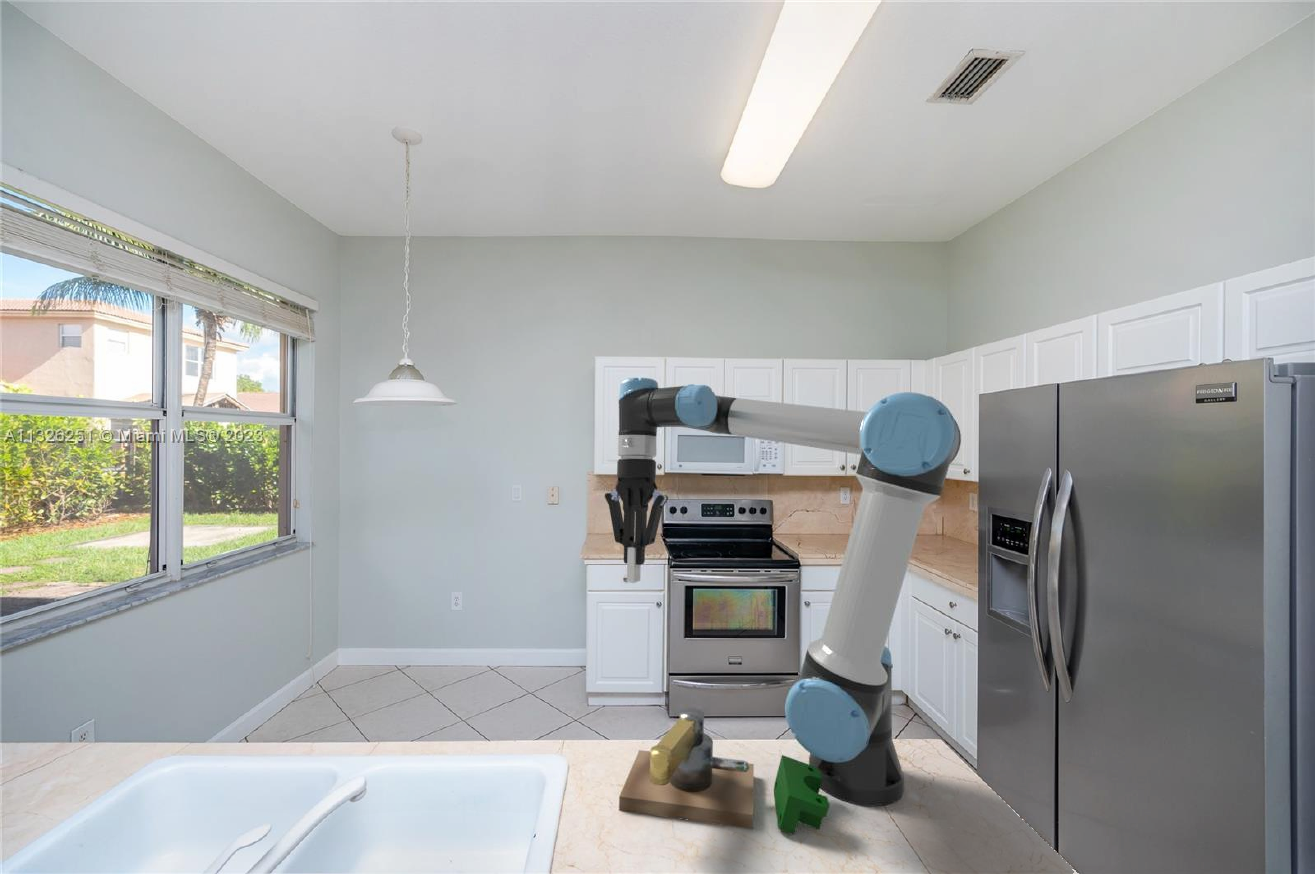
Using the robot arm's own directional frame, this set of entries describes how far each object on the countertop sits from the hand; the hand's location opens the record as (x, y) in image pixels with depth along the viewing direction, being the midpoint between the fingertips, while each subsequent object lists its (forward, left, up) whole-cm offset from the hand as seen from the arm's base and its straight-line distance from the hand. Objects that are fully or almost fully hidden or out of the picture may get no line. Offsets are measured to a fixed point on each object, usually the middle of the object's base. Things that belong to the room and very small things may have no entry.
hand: (633, 581), depth 102 cm
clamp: (-30, +14, -31) cm, 45 cm away
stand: (-13, +12, -30) cm, 35 cm away
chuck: (-16, +12, -28) cm, 35 cm away
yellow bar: (-12, +18, -22) cm, 31 cm away
